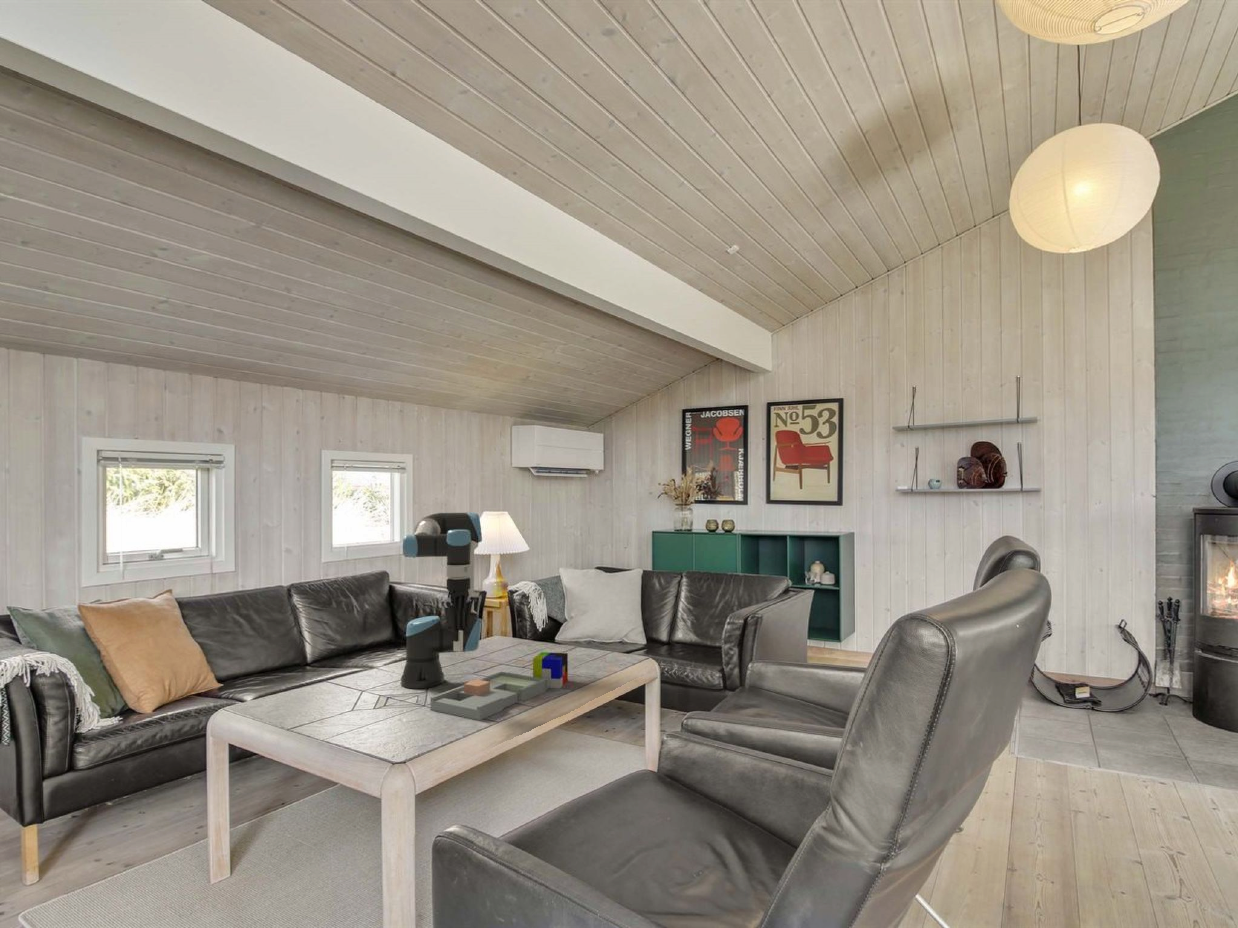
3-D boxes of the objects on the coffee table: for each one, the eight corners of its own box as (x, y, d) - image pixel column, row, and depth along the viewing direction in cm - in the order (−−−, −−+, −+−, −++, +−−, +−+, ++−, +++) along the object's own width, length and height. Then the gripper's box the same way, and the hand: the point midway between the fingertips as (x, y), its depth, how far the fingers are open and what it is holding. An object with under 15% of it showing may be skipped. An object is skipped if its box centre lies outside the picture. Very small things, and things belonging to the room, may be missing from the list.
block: (464, 692, 229) (464, 683, 229) (476, 688, 234) (476, 679, 234) (478, 695, 226) (478, 686, 226) (490, 690, 231) (490, 681, 231)
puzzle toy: (559, 688, 245) (559, 659, 245) (532, 686, 247) (532, 658, 247) (567, 680, 254) (567, 653, 255) (541, 679, 256) (541, 652, 257)
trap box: (430, 709, 221) (430, 697, 221) (501, 682, 252) (501, 671, 252) (479, 720, 211) (479, 707, 211) (547, 690, 242) (547, 679, 242)
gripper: (453, 580, 218) (452, 656, 217) (480, 575, 229) (480, 648, 228) (435, 579, 221) (435, 653, 220) (463, 574, 233) (463, 645, 232)
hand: (458, 650), depth 224 cm, fingers closed
